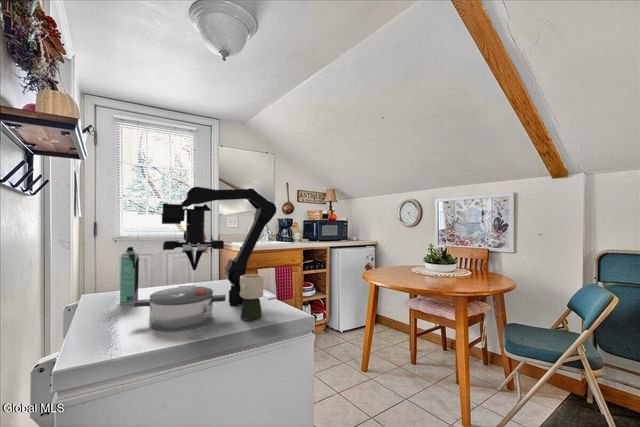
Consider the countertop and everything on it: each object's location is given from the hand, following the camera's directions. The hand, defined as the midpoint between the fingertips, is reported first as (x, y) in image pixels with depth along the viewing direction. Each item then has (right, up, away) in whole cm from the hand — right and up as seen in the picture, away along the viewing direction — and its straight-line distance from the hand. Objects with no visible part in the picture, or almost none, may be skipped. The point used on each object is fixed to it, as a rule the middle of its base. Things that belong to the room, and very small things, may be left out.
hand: (194, 270), depth 102 cm
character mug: (+21, -13, -9) cm, 27 cm away
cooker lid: (+1, -6, -11) cm, 13 cm away
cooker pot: (+1, -13, -12) cm, 18 cm away
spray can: (-26, -13, +6) cm, 30 cm away
